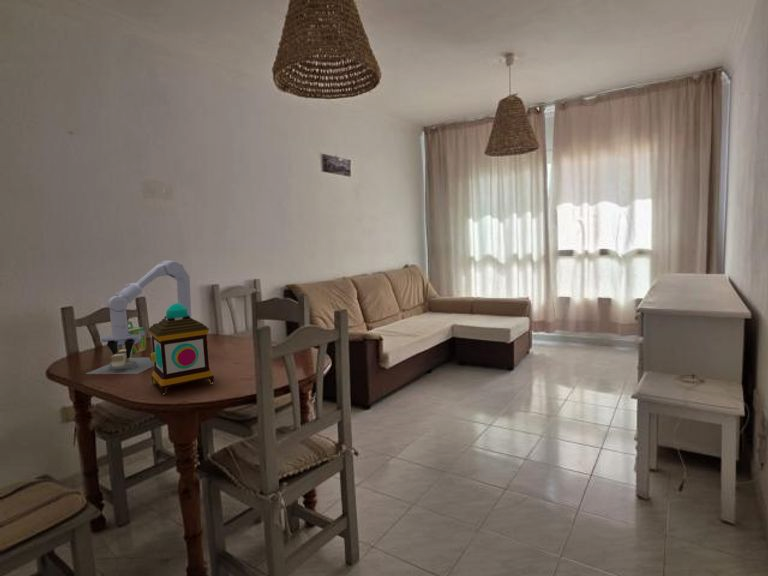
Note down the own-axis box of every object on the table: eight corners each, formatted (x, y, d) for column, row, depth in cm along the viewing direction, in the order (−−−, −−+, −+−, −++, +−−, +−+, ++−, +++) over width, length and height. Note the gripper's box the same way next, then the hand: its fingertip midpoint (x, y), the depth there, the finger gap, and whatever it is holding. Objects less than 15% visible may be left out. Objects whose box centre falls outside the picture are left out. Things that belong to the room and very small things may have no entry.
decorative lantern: (147, 384, 165) (139, 303, 162) (203, 373, 177) (197, 297, 174) (158, 398, 150) (150, 309, 146) (219, 385, 161) (213, 302, 158)
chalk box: (134, 355, 209) (131, 324, 207) (116, 355, 210) (113, 324, 208) (147, 350, 218) (145, 320, 216) (130, 350, 219) (128, 320, 217)
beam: (123, 365, 179) (122, 355, 179) (112, 366, 178) (111, 356, 178) (132, 357, 191) (131, 348, 190) (122, 358, 190) (121, 349, 189)
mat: (171, 358, 200) (171, 357, 200) (137, 375, 177) (137, 373, 177) (125, 358, 203) (125, 357, 202) (85, 375, 179) (85, 373, 179)
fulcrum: (138, 366, 187) (137, 360, 186) (131, 369, 183) (131, 363, 182) (115, 366, 188) (114, 360, 187) (108, 369, 184) (108, 363, 183)
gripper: (141, 322, 189) (144, 354, 190) (103, 325, 185) (106, 357, 187) (136, 325, 182) (139, 358, 183) (96, 328, 178) (100, 361, 180)
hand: (122, 358), depth 185 cm, fingers closed on beam, 4 cm apart
